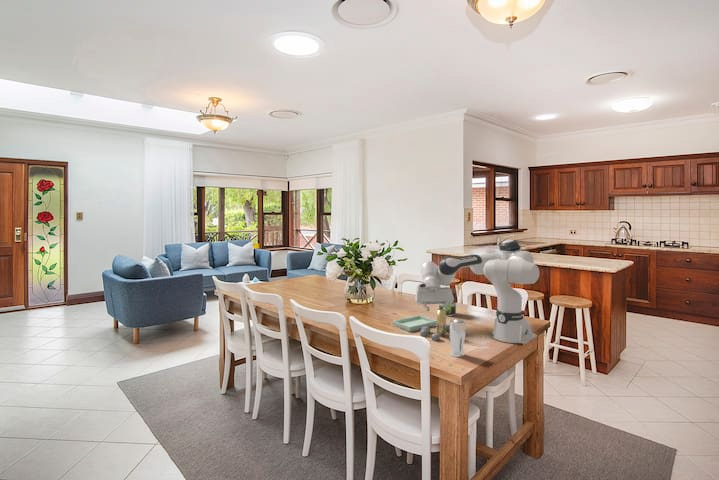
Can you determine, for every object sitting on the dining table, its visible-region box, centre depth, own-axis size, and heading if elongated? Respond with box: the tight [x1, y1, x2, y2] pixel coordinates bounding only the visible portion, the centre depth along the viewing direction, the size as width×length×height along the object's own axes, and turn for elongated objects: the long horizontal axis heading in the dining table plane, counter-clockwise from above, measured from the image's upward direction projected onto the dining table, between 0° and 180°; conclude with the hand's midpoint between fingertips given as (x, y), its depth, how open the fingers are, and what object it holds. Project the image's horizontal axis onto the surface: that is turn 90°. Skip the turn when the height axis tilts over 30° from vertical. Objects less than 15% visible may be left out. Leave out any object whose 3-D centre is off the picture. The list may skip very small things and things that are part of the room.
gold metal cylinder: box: [436, 308, 447, 338], centre depth 193 cm, size 4×4×13 cm
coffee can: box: [438, 289, 457, 317], centre depth 232 cm, size 10×10×14 cm
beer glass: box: [448, 318, 467, 358], centre depth 167 cm, size 7×7×15 cm
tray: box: [392, 314, 437, 333], centre depth 210 cm, size 20×14×3 cm
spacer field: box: [419, 324, 451, 343], centre depth 193 cm, size 19×21×2 cm
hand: (436, 310), depth 198 cm, fingers open, 8 cm apart
